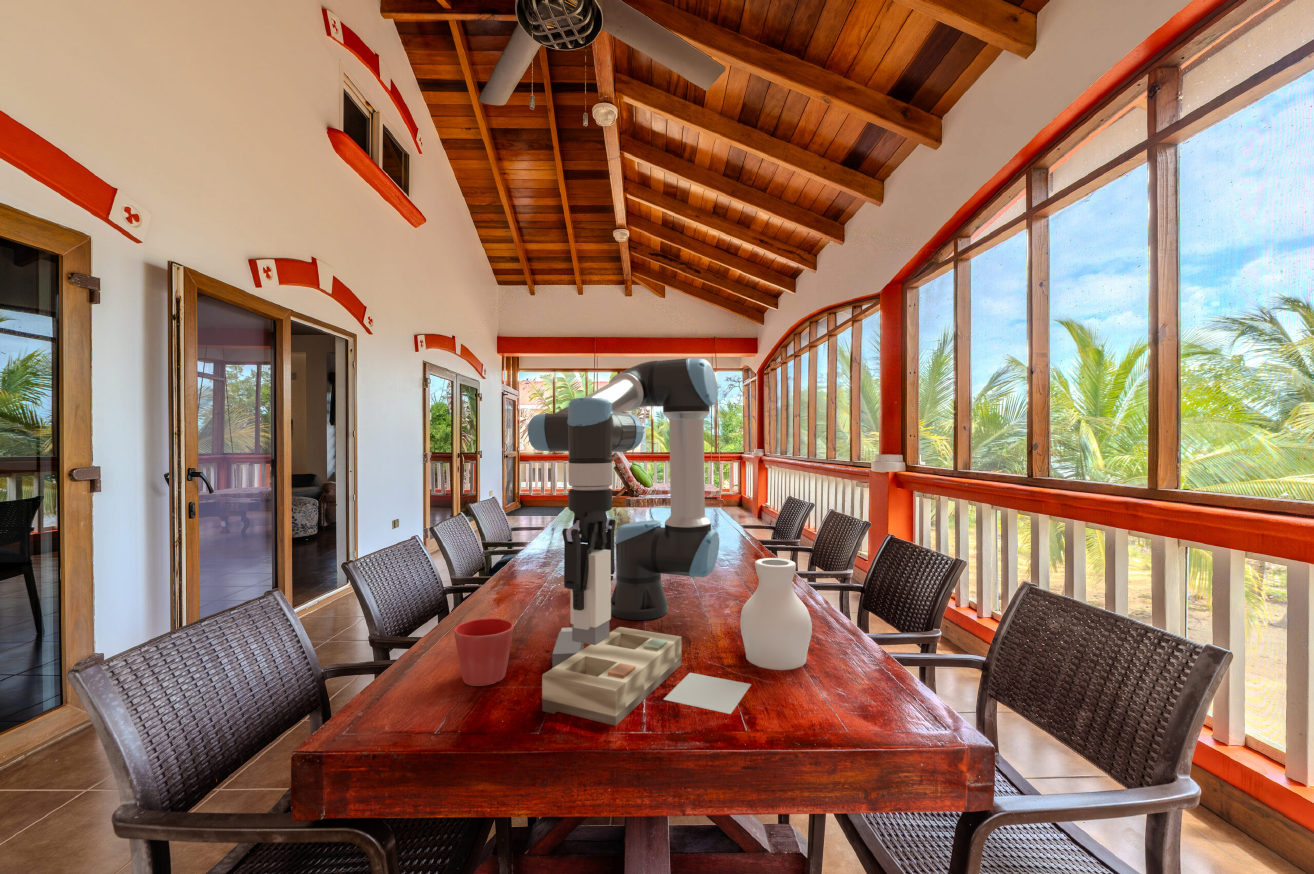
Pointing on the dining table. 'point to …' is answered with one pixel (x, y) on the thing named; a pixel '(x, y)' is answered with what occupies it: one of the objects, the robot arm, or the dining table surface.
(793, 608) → the vase
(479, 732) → the dining table surface
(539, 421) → the robot arm
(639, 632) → the socket box
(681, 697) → the mat
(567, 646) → the plug
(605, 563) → the plug
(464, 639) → the flower pot
